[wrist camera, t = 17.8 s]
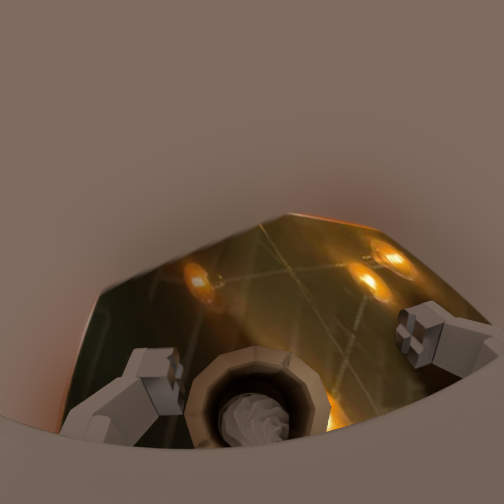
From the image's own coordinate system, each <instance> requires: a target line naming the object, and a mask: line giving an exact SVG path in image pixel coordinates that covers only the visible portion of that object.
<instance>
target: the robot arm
mask: <svg viewBox="0 0 504 504" xmlns="http://www.w3.org/2000/svg"><path fill="white" fill-rule="evenodd" d="M398 321H399V323H400V325H399V326H398V327H397V329H396V333H395V341H396V345H397V347H398V349H399V350H400V351H401V352H402V353H405V354H407V360H408V361H409V362H410V363H411V364H412V366H413V367H414V368H415V369H416V368H419V367H422V366H424V365H427V364H430V363H432V362H433V363H432V364H434V365H436V366H438V367H440V368H442V369H445V370H447V371H449V372H451V373H453V374H455V375H457V376H459V377H461V378H463V379H461V380H460V381H458V382H456V383H454V384H452V385H450V386H448V387H446V388H444V389H442V390H440V391H438V392H436V393H434V394H432V395H430V396H428V397H425V398H423V399H421V400H419V401H416V402H414V403H412V404H409V405H407V406H404V407H402V408H399V409H397V410H394V411H392V412H389V413H386V414H384V415H381V416H378V417H375V418H372V419H369V420H366V421H363V422H360V423H356V424H353V425H350V426H346V427H343V428H339V429H335V430H331V431H327V432H323V433H319V434H315V435H310V436H306V437H301V438H296V439H290V440H285V441H279V442H272V443H265V444H258V445H249V446H240V447H228V448H211V449H159V448H143V447H133V445H134V444H135V443H136V442H137V441H138V440H139V439H140V438H141V436H142V435H143V434H144V433H145V432H146V431H147V430H148V429H149V427H150V426H151V425H152V424H153V423H154V422H155V421H156V419H157V418H158V417H159V416H158V415H183V407H184V398H183V396H182V394H184V393H185V392H186V376H185V371H184V368H183V366H182V365H181V364H179V359H180V355H179V353H178V350H177V348H176V347H163V348H136V349H134V350H133V352H132V354H131V356H130V359H129V361H128V363H127V366H126V368H125V370H124V373H123V375H122V377H118V378H116V379H115V380H113V381H112V382H110V383H109V384H108V385H106V386H105V387H103V388H102V389H100V390H99V391H98V392H96V393H95V394H93V395H92V396H90V397H89V398H88V399H86V400H85V401H83V402H82V403H80V404H79V405H77V406H76V407H74V408H73V409H72V410H70V412H69V414H68V416H67V418H66V420H65V422H64V425H63V427H62V429H61V431H60V433H59V434H56V433H52V432H48V431H45V430H41V429H38V428H34V427H31V426H28V425H25V424H22V423H19V422H16V421H13V420H11V419H7V418H5V417H3V416H0V504H504V328H499V327H496V326H491V325H487V324H483V323H479V322H475V321H471V320H467V319H463V318H459V317H458V318H455V317H454V316H452V315H451V314H450V313H448V312H447V311H446V310H444V309H443V308H442V307H441V306H439V305H438V304H437V303H435V302H434V301H428V302H425V303H422V304H420V305H417V306H413V307H410V308H406V309H403V310H401V311H400V312H399V315H398Z"/></svg>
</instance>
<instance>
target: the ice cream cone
mask: <svg viewBox="0 0 504 504" xmlns="http://www.w3.org/2000/svg"><path fill="white" fill-rule="evenodd" d="M288 423H289V414H287V413H286V412H285V411H284V409H283V408H282V407H281V406H280V405H279V403H278V402H276V401H275V400H273V399H271V398H270V397H268V396H266V395H262V394H258V393H246V394H241V395H239V396H236V397H234V398H233V399H231V400H230V401H229V402H227V403H226V404H225V406H224V407H223V408H222V410H221V412H220V415H219V419H218V428H219V432H220V434H221V436H222V438H223V439H224V440H225V441H226V442H227V443H228V444H229V445H230V446H231V447H240V446H249V445H258V444H265V443H272V442H279V441H285V440H286V439H287V438H288V434H289V425H288Z"/></svg>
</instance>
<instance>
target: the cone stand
mask: <svg viewBox="0 0 504 504" xmlns="http://www.w3.org/2000/svg"><path fill="white" fill-rule="evenodd" d="M246 393H258V394H262V395H266V396H268V397H270V398H271V399H273V400H275V401H276V402H278V403H279V405H280V406H281V407H282V408H283V409H284V411H285V412H286V413H287V414H289V423H288V425H289V434H288V438H287V439H286V440H290V439H296V438H301V437H306V436H310V435H315V434H319V433H323V432H326V429H327V425H328V420H329V415H330V409H331V406H330V403H329V400H328V398H327V395H326V392H325V390H324V387H323V385H322V382H321V379H320V377H319V374H317V373H316V372H315V371H314V370H312V369H311V368H310V367H309V366H307V365H306V364H305V363H304V362H302V361H301V360H300V359H299V358H298V357H296V356H295V355H294V354H293V353H292V352H287V351H282V350H276V349H271V348H267V347H262V346H257V345H254V346H250V347H247V348H243V349H240V350H236V351H233V352H229V353H225V354H221V355H219V356H218V357H217V358H216V359H215V360H214V361H213V362H212V363H211V364H210V365H209V366H208V367H206V368H205V369H204V370H203V371H202V372H201V373H200V374H199V375H198V376H197V377H196V378H195V379H194V380H193V383H192V387H191V390H190V394H189V397H188V401H187V404H186V408H185V412H184V416H185V419H186V422H187V426H188V429H189V432H190V435H191V439H192V442H193V445H194V448H195V449H211V448H228V447H231V446H230V445H229V444H228V443H227V442H226V441H225V440H224V439H223V438H222V436H221V434H220V432H219V428H218V419H219V415H220V412H221V410H222V408H223V407H224V406H225V404H226V403H227V402H229V401H230V400H231V399H233V398H234V397H236V396H239V395H241V394H246Z"/></svg>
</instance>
